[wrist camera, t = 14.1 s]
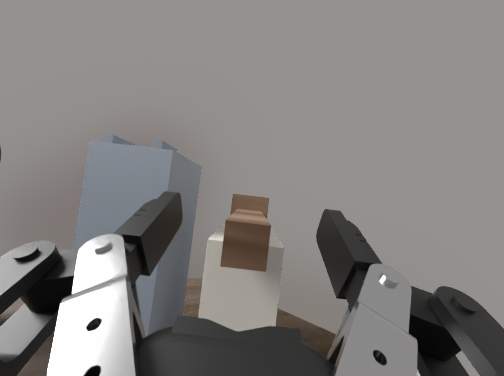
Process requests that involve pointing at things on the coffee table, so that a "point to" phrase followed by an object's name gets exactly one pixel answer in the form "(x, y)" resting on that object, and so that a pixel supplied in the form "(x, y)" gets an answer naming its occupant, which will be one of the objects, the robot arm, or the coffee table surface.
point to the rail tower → (129, 201)
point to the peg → (246, 234)
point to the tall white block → (240, 288)
